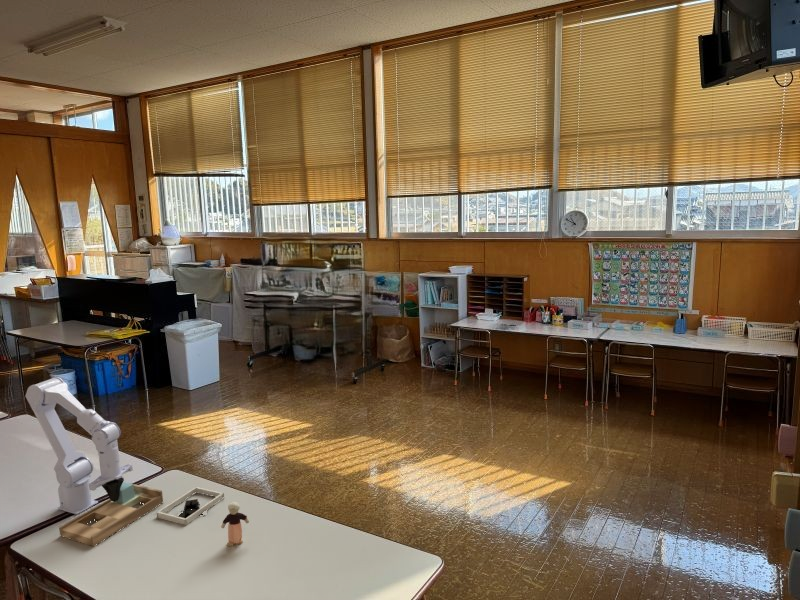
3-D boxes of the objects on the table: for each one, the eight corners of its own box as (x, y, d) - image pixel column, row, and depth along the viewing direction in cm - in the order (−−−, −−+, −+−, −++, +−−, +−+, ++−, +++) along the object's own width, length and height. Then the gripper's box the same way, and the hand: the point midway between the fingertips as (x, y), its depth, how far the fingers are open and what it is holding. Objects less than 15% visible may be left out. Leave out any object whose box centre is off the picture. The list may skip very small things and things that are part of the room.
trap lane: (60, 536, 166) (58, 522, 165) (131, 495, 189) (130, 483, 188) (93, 546, 160) (92, 533, 159) (163, 502, 183) (161, 490, 183)
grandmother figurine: (224, 549, 157) (220, 509, 155) (222, 542, 160) (218, 502, 158) (251, 541, 160) (248, 501, 158) (248, 535, 164) (245, 495, 162)
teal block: (113, 500, 181) (112, 488, 180) (125, 494, 185) (123, 481, 184) (123, 503, 179) (121, 490, 178) (134, 496, 183) (133, 484, 182)
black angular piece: (170, 524, 172) (168, 510, 171) (174, 511, 179) (172, 498, 178) (211, 517, 175) (210, 504, 174) (213, 506, 182) (212, 493, 181)
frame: (156, 517, 175) (156, 512, 174) (196, 491, 190) (195, 486, 190) (186, 525, 170) (185, 519, 170) (224, 498, 185) (223, 493, 185)
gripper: (98, 473, 168) (103, 514, 170) (137, 453, 181) (141, 491, 183) (82, 469, 171) (87, 509, 173) (122, 450, 184) (126, 488, 186)
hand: (114, 500), depth 178 cm, fingers closed
